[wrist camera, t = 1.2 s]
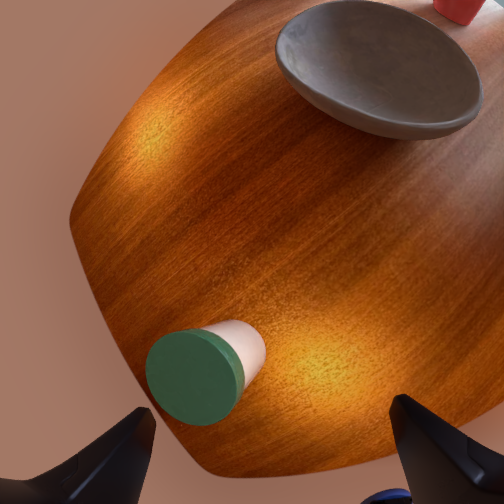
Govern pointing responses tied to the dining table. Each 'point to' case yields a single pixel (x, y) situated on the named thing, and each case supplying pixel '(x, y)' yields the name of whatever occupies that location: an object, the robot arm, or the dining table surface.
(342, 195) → the dining table surface
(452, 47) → the bowl
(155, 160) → the dining table surface
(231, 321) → the jar
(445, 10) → the flower pot
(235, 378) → the lid
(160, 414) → the dining table surface
